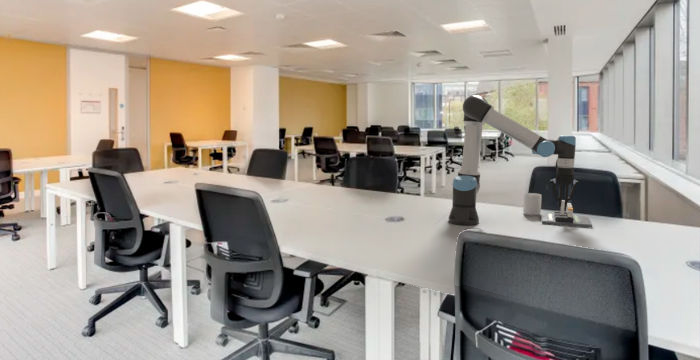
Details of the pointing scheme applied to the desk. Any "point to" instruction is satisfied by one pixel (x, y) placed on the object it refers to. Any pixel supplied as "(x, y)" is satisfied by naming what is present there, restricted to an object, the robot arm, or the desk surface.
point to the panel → (582, 221)
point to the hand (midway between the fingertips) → (562, 213)
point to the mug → (532, 204)
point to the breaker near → (570, 212)
